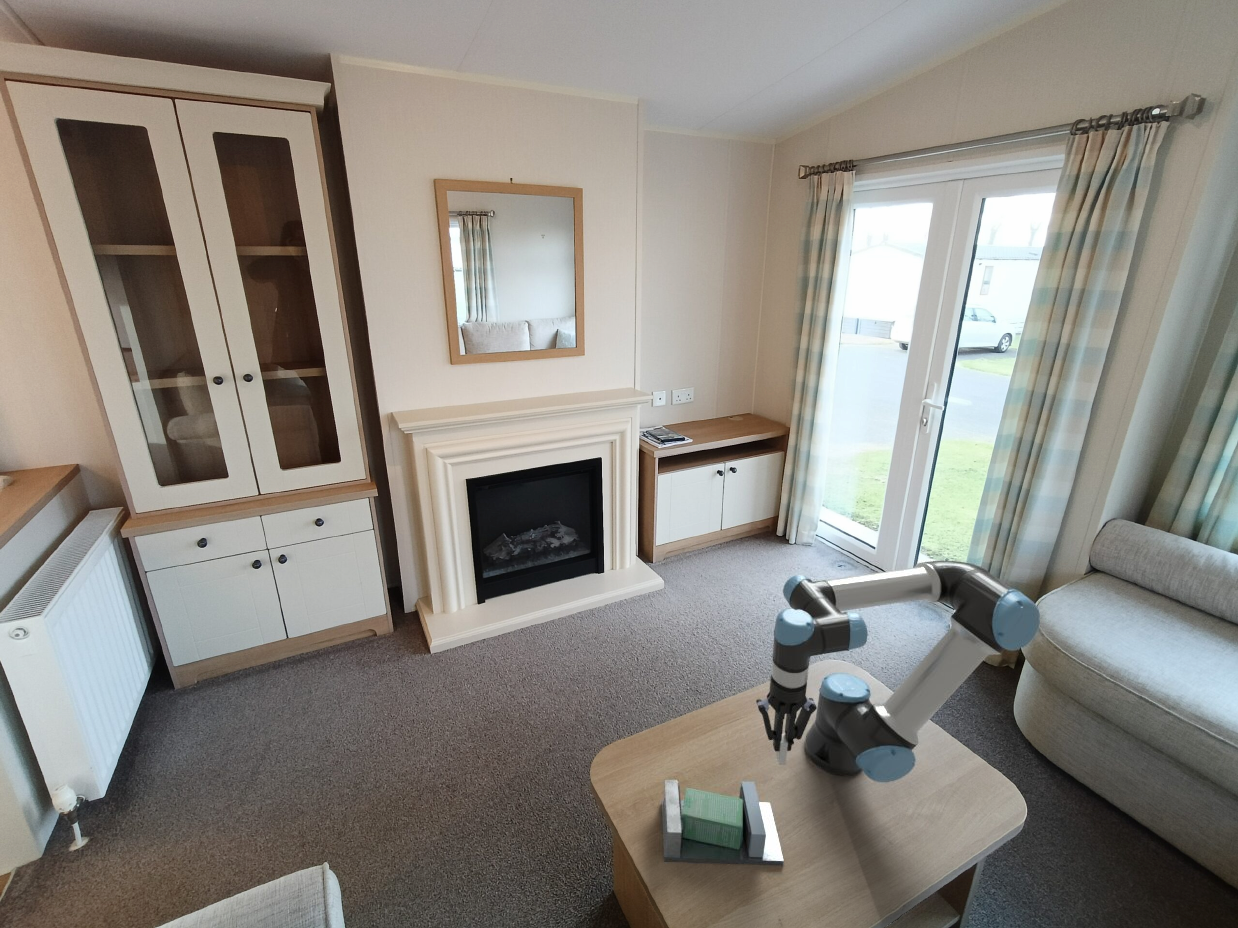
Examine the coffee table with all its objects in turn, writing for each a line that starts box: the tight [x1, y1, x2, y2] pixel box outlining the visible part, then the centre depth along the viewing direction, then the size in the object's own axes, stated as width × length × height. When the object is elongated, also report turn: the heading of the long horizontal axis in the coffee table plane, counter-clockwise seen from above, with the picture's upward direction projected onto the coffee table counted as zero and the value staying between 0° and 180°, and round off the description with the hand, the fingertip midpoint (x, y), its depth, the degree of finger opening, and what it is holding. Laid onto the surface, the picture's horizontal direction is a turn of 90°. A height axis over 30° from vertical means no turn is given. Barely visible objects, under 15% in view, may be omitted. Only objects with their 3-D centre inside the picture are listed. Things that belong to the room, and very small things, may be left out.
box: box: [682, 787, 743, 850], centre depth 129 cm, size 7×14×8 cm, turn 78°
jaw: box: [738, 780, 766, 857], centre depth 129 cm, size 3×13×7 cm, turn 178°
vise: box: [660, 779, 785, 867], centre depth 129 cm, size 26×14×8 cm, turn 88°
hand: (780, 759), depth 130 cm, fingers closed
